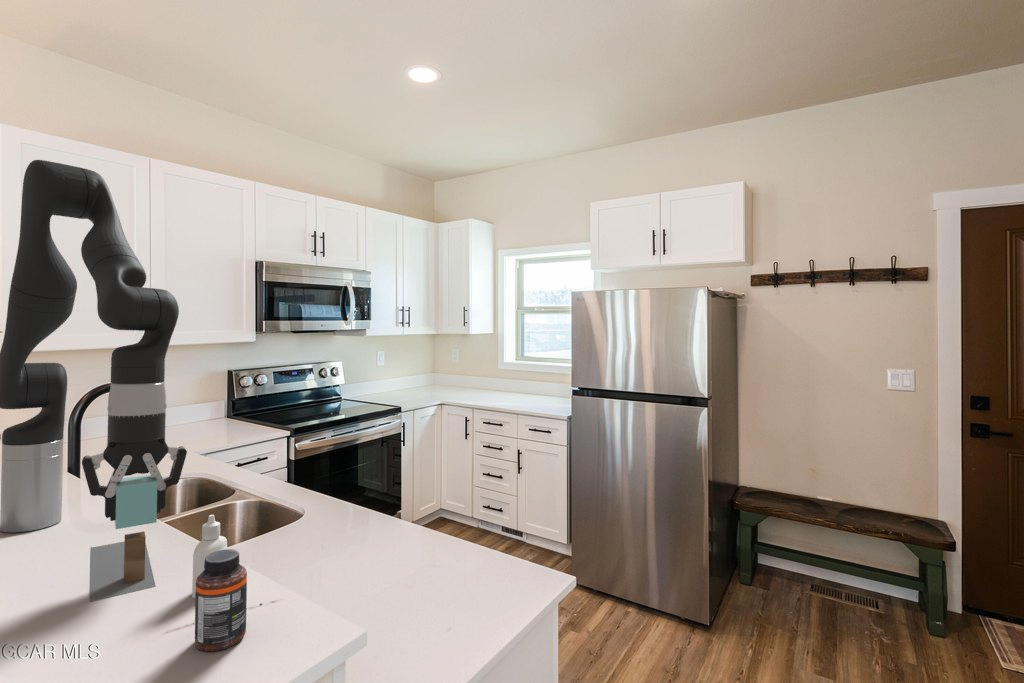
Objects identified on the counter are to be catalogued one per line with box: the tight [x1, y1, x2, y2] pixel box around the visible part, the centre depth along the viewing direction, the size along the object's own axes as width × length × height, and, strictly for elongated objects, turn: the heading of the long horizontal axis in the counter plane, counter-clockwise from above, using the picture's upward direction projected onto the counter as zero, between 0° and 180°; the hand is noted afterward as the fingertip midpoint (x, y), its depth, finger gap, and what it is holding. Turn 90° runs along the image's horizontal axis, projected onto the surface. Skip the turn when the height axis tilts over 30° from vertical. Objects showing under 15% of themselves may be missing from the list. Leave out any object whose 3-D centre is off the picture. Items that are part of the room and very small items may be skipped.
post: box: [123, 530, 147, 584], centre depth 83 cm, size 3×3×7 cm
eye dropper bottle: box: [191, 514, 228, 599], centre depth 80 cm, size 4×6×12 cm
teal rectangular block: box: [114, 474, 158, 530], centre depth 82 cm, size 5×5×7 cm
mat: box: [89, 540, 157, 603], centre depth 87 cm, size 24×8×1 cm, turn 39°
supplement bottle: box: [194, 548, 248, 652], centre depth 67 cm, size 6×6×11 cm
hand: (135, 515), depth 82 cm, fingers closed on teal rectangular block, 5 cm apart
